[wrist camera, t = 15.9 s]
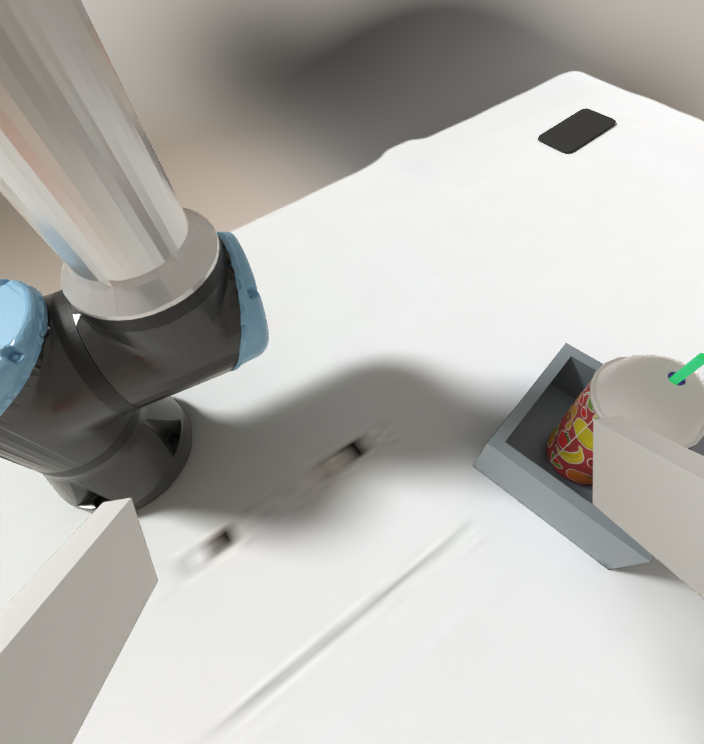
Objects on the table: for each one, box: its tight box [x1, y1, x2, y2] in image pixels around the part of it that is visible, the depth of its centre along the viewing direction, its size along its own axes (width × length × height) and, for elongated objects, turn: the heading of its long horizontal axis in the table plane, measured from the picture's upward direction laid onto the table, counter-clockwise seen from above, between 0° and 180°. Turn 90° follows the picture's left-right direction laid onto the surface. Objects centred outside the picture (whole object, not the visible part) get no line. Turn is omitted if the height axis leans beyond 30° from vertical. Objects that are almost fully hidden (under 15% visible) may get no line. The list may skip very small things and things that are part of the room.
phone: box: [538, 109, 616, 154], centre depth 76 cm, size 7×1×15 cm
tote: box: [473, 343, 704, 570], centre depth 41 cm, size 15×15×7 cm
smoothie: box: [547, 353, 704, 486], centre depth 35 cm, size 8×8×20 cm
